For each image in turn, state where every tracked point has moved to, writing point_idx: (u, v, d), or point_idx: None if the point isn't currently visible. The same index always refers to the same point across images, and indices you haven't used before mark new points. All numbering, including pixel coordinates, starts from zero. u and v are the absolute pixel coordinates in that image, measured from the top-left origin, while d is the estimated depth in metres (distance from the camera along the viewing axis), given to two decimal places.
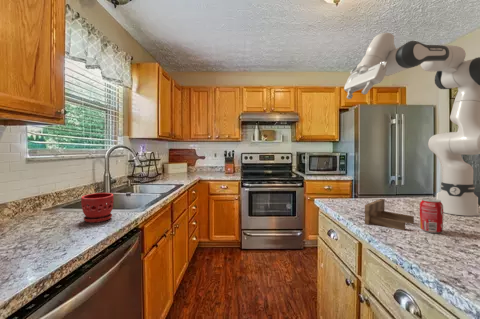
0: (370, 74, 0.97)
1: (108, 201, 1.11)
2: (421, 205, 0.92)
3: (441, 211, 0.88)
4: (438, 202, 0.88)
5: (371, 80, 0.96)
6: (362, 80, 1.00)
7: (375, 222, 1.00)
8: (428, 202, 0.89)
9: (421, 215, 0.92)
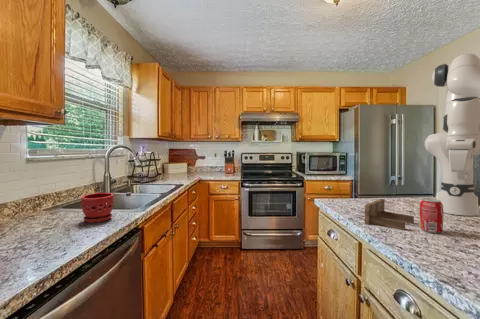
0: (471, 161, 0.86)
1: (108, 201, 1.11)
2: (421, 205, 0.92)
3: (441, 211, 0.88)
4: (438, 202, 0.88)
5: None
6: (470, 166, 0.84)
7: (375, 222, 1.00)
8: (428, 202, 0.89)
9: (421, 215, 0.92)
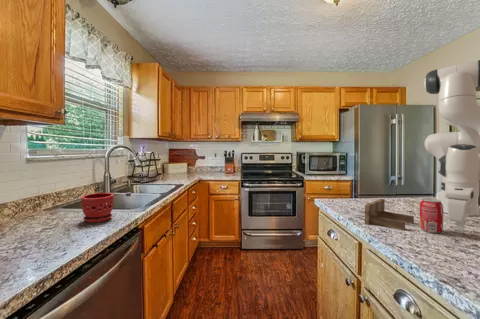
0: (470, 206, 0.87)
1: (108, 201, 1.11)
2: (421, 205, 0.92)
3: (441, 211, 0.88)
4: (438, 202, 0.88)
5: None
6: (468, 213, 0.85)
7: (375, 222, 1.00)
8: (428, 202, 0.89)
9: (421, 215, 0.92)
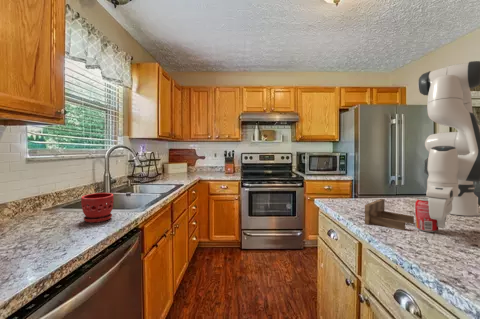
0: (450, 205, 0.91)
1: (108, 201, 1.11)
2: (416, 204, 0.93)
3: None
4: None
5: None
6: (449, 211, 0.89)
7: (375, 222, 1.00)
8: (423, 201, 0.91)
9: (417, 214, 0.93)
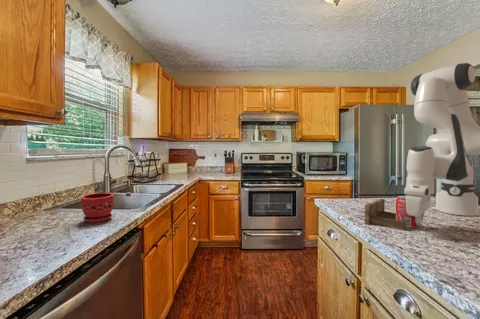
0: (428, 202, 0.96)
1: (108, 201, 1.11)
2: (397, 202, 0.97)
3: None
4: None
5: None
6: (426, 208, 0.94)
7: (375, 222, 1.00)
8: (403, 199, 0.95)
9: (397, 211, 0.97)
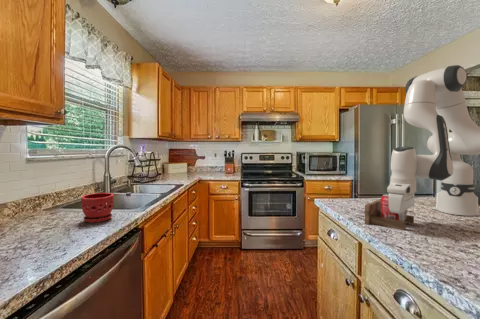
0: (412, 200, 1.01)
1: (108, 201, 1.11)
2: (382, 200, 1.01)
3: None
4: None
5: None
6: (409, 205, 0.98)
7: (375, 222, 1.00)
8: (388, 197, 0.99)
9: (382, 209, 1.01)
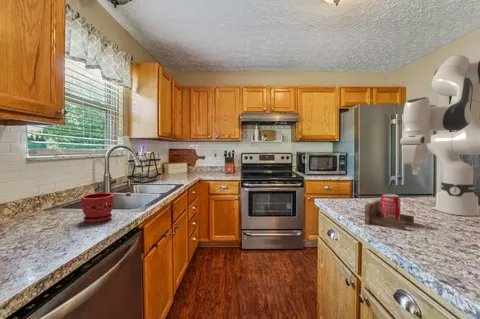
0: (425, 155, 0.97)
1: (108, 201, 1.11)
2: (382, 200, 1.01)
3: (398, 205, 0.98)
4: (396, 197, 0.98)
5: None
6: (423, 159, 0.95)
7: (375, 222, 1.00)
8: (388, 197, 0.99)
9: (382, 209, 1.01)
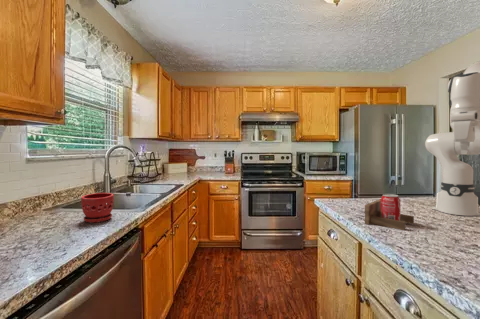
0: (473, 134, 0.92)
1: (108, 201, 1.11)
2: (382, 200, 1.01)
3: (398, 205, 0.98)
4: (396, 197, 0.98)
5: None
6: (472, 138, 0.90)
7: (375, 222, 1.00)
8: (388, 197, 0.99)
9: (382, 209, 1.01)
